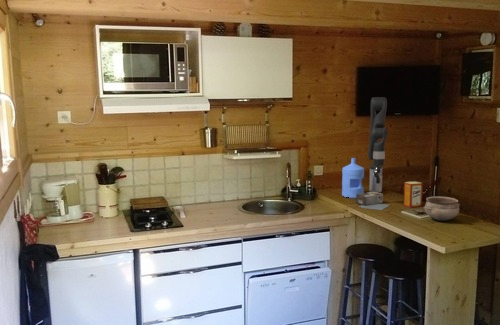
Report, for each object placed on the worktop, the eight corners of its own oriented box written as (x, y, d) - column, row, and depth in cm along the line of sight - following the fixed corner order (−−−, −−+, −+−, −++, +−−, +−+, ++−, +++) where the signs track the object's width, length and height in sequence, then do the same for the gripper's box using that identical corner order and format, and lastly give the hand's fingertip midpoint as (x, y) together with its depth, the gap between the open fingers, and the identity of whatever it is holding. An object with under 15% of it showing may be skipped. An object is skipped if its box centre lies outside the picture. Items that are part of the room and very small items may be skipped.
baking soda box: (414, 204, 316) (415, 180, 314) (421, 206, 310) (422, 182, 308) (403, 205, 313) (404, 182, 310) (410, 207, 307) (411, 183, 304)
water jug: (337, 196, 343) (338, 158, 339) (350, 193, 353) (350, 156, 349) (355, 199, 332) (356, 160, 327) (368, 196, 342) (368, 158, 338)
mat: (367, 202, 322) (367, 202, 322) (390, 205, 313) (390, 204, 313) (358, 207, 309) (358, 206, 309) (381, 210, 300) (381, 210, 300)
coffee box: (373, 200, 327) (355, 203, 320) (373, 191, 326) (355, 193, 319) (382, 203, 319) (364, 206, 312) (383, 193, 318) (365, 196, 311)
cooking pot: (434, 226, 264) (435, 205, 262) (413, 218, 281) (413, 198, 280) (470, 221, 272) (471, 201, 270) (446, 214, 289) (447, 194, 288)
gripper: (376, 156, 319) (376, 181, 322) (369, 158, 309) (369, 184, 311) (387, 156, 315) (386, 182, 318) (380, 159, 304) (380, 185, 307)
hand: (378, 183), depth 315 cm, fingers closed
